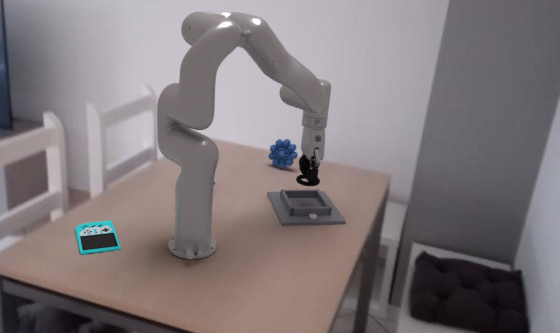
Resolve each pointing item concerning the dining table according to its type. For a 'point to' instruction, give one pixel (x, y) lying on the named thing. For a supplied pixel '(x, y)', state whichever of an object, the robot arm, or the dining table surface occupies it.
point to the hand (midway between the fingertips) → (308, 175)
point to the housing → (304, 207)
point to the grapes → (283, 153)
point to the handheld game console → (97, 237)
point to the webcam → (305, 172)
